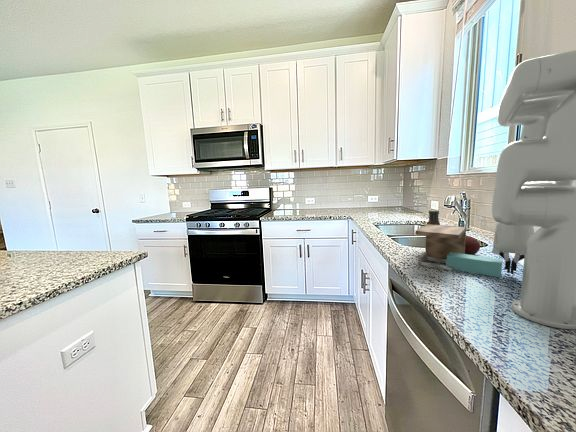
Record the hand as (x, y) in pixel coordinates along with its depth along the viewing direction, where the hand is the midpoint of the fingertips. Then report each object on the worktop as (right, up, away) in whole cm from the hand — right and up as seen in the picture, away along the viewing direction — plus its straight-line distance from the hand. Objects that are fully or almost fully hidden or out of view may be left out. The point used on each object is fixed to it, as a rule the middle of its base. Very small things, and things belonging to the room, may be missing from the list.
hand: (510, 272), depth 87 cm
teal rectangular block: (-8, -1, +7) cm, 10 cm away
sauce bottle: (-9, +2, +31) cm, 32 cm away
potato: (+4, +2, +28) cm, 28 cm away
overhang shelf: (-16, 0, +14) cm, 21 cm away
